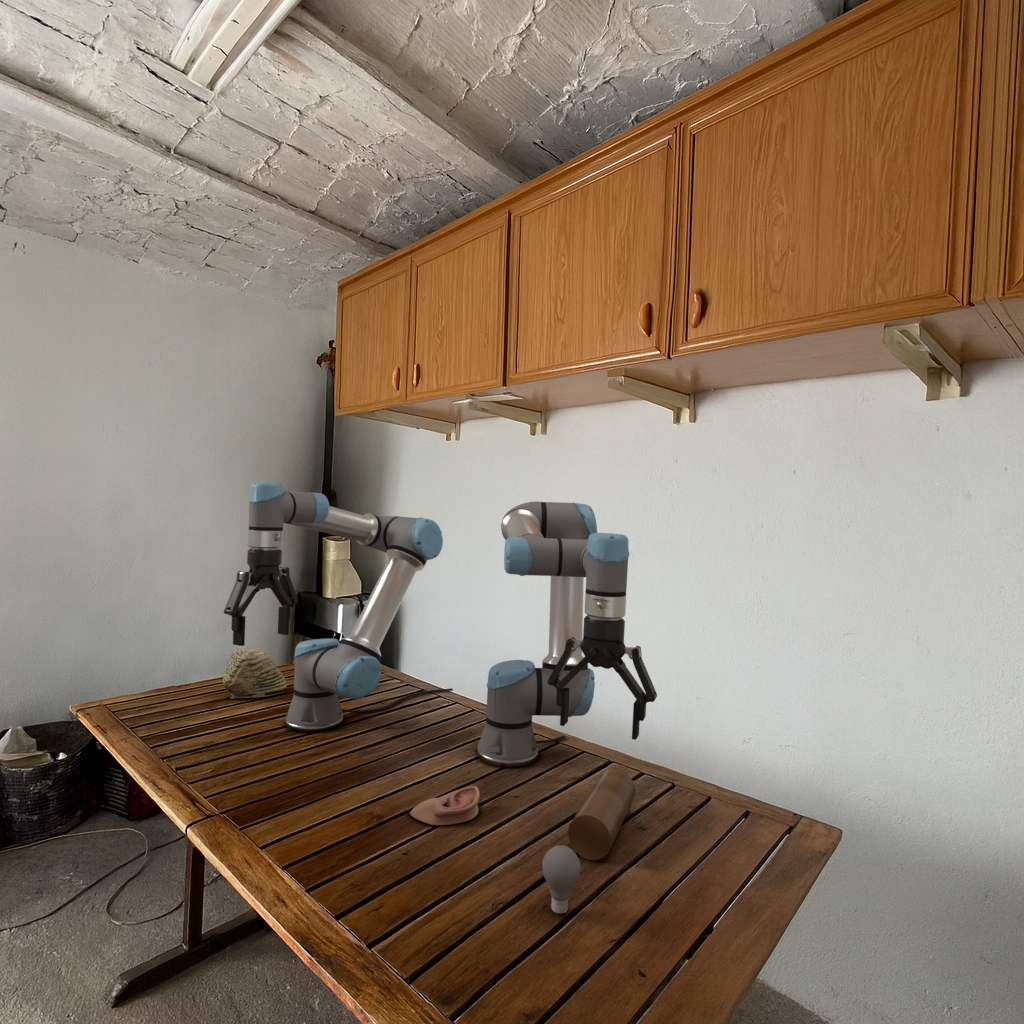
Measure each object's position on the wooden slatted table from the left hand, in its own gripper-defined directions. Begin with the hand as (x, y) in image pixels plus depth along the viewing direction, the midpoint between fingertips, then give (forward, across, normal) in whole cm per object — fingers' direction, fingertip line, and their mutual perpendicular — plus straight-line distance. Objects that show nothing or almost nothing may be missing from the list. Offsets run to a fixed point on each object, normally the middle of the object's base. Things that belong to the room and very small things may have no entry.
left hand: (261, 639), depth 148 cm
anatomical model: (+29, +1, -50) cm, 58 cm away
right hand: (+7, +3, -81) cm, 81 cm away
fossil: (+29, +37, +39) cm, 62 cm away
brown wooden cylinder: (+29, +10, -81) cm, 86 cm away
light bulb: (+29, -18, -81) cm, 88 cm away
